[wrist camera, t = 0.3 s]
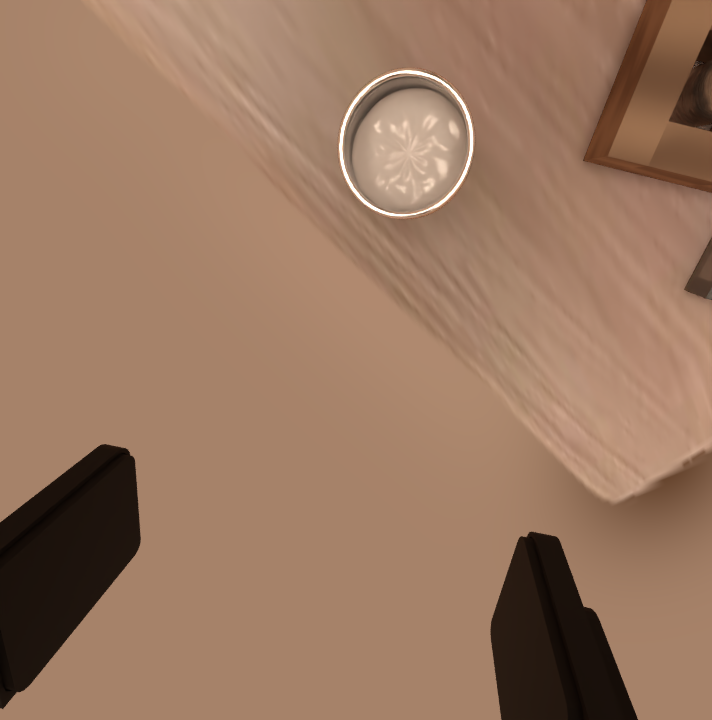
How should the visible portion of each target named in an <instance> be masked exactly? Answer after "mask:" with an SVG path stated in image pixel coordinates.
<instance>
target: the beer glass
mask: <svg viewBox="0 0 712 720" xmlns="http://www.w3.org/2000/svg"><path fill="white" fill-rule="evenodd" d="M474 150H475V129H474V123H473V119H472V115H471V112H470V110H469V107H468V105H467V103H466V101H465V100H464V98H463V96H462V95H461V94H460V92H459V91H458V90H457V89H456V88H455V87H454V86H453V85H452V84H451V83H450V82H449V81H448V80H446V79H445V78H443V77H442V76H440V75H438V74H436V73H434V72H431V71H428V70H425V69H420V68H399V69H394V70H391V71H388V72H385V73H383V74H381V75H379V76H377V77H375V78H374V79H372V80H371V81H369V82H368V83H367V84H366V85H365V86H364V87H362V88H361V89H360V91H359V92H358V93H357V94H356V95H355V96H354V98H353V99H352V101H351V102H350V104H349V106H348V107H347V109H346V111H345V113H344V116H343V118H342V121H341V125H340V129H339V134H338V144H337V151H338V160H339V165H340V169H341V173H342V175H343V178H344V180H345V182H346V184H347V186H348V188H349V189H350V191H351V192H352V194H353V195H354V196H355V197H356V198H357V199H358V200H359V201H360V202H361V203H362V204H363V205H364V206H365V207H367V208H368V209H370V210H371V211H373V212H375V213H377V214H380V215H382V216H385V217H389V218H395V219H415V218H420V217H424V216H427V215H429V214H431V213H433V212H435V211H437V210H439V209H440V208H442V207H443V206H445V205H446V204H447V203H448V202H449V201H450V200H451V199H452V198H453V197H454V196H455V195H456V194H457V193H458V191H459V190H460V189H461V187H462V185H463V184H464V182H465V180H466V178H467V176H468V173H469V171H470V167H471V164H472V160H473V156H474Z"/></svg>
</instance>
